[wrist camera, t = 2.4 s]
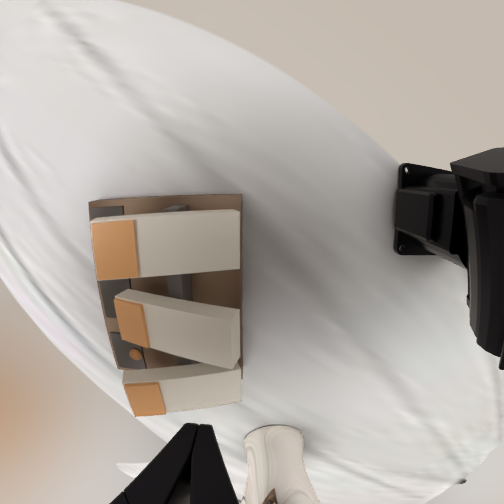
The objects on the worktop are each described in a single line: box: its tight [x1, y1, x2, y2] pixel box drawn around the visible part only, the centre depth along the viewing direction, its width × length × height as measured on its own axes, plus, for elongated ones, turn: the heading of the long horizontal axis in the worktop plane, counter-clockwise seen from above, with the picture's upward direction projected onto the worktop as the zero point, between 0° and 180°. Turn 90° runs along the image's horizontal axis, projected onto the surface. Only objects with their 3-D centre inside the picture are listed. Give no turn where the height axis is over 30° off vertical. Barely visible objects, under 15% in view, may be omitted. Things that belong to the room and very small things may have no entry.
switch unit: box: [89, 194, 243, 379], centre depth 17 cm, size 10×13×4 cm
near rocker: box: [90, 209, 240, 281], centre depth 13 cm, size 7×3×1 cm, turn 89°
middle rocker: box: [114, 289, 240, 369], centre depth 14 cm, size 7×3×1 cm, turn 90°
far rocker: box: [122, 362, 242, 417], centre depth 15 cm, size 7×3×1 cm, turn 89°
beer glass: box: [241, 425, 320, 504], centre depth 16 cm, size 7×7×15 cm
